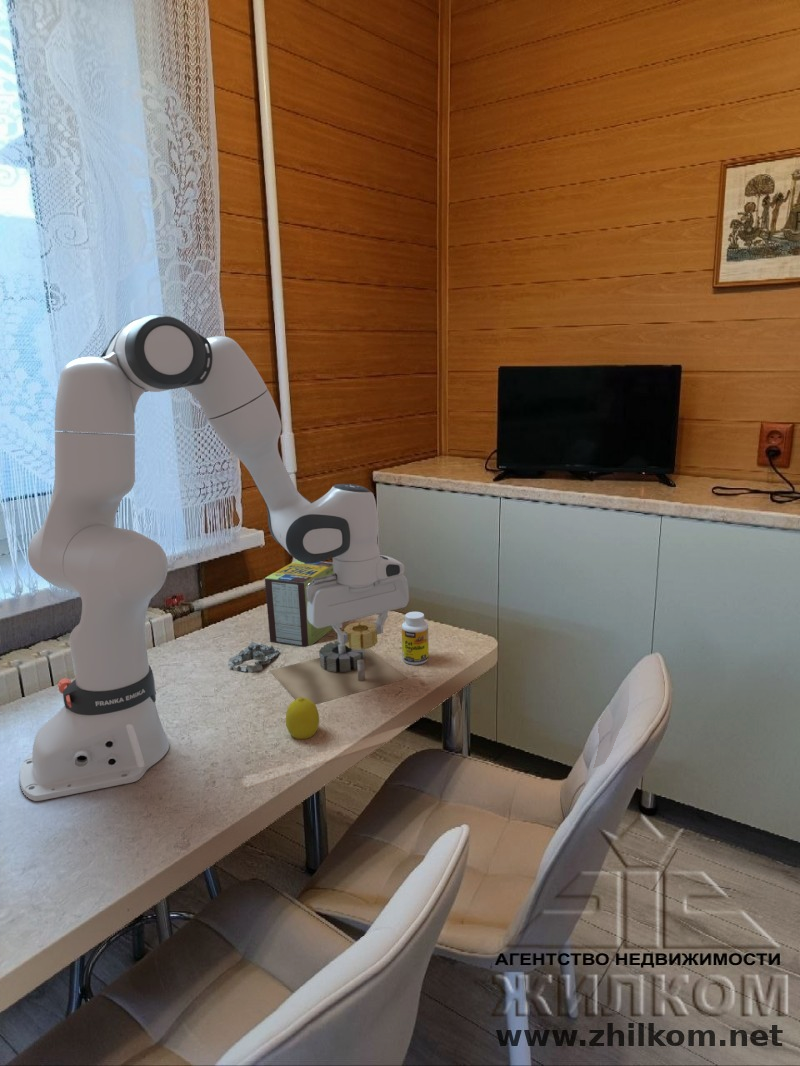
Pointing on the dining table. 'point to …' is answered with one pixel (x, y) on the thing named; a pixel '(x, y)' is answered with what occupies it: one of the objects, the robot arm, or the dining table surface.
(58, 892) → the dining table surface
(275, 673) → the gear board
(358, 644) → the brass gear
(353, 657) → the grey gear
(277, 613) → the protein box
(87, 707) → the robot arm
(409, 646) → the supplement bottle
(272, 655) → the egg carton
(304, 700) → the lemon
